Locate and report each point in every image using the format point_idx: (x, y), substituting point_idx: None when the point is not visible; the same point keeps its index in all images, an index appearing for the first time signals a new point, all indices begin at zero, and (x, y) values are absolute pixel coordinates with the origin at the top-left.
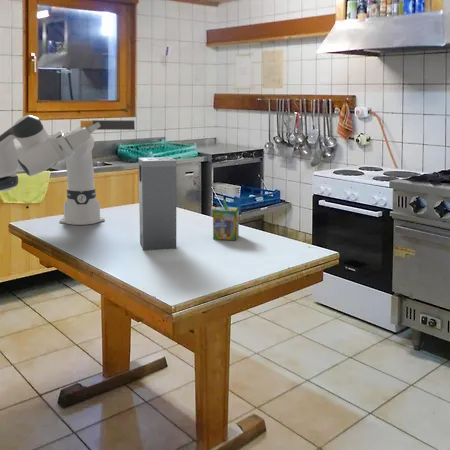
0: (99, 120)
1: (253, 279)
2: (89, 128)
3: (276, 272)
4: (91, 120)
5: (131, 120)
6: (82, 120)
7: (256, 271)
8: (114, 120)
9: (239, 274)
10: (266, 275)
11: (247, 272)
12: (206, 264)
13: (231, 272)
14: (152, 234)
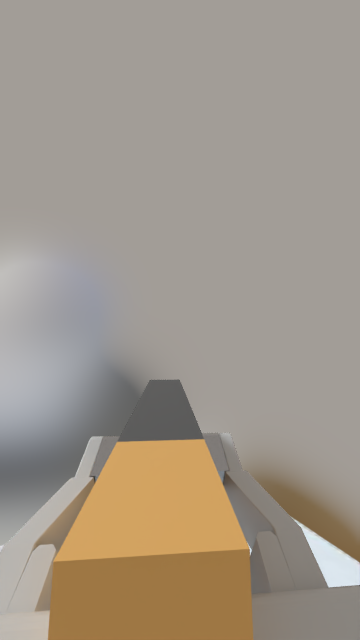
0: (175, 418)
1: (353, 558)
2: (299, 548)
3: (305, 526)
4: (183, 444)
5: (163, 381)
6: (204, 517)
7: (312, 547)
8: (167, 394)
9: (340, 573)
10: (324, 539)
11: (323, 559)
12: None
13: (336, 584)
14: None
